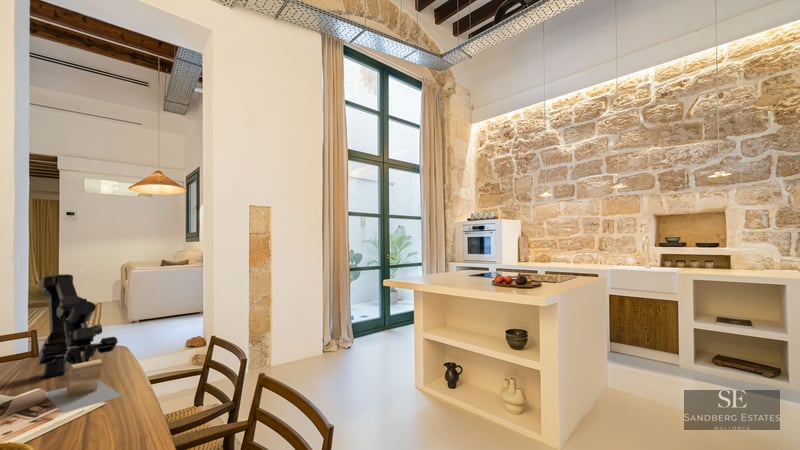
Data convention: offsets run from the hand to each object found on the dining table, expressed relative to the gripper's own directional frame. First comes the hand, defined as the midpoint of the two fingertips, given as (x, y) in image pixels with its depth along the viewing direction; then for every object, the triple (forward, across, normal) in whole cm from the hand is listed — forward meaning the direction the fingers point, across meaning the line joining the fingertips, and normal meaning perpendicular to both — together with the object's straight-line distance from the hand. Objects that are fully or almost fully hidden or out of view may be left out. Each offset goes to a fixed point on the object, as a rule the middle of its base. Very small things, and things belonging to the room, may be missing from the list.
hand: (84, 371), depth 108 cm
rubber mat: (+6, 0, +4) cm, 7 cm away
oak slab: (+4, 0, +5) cm, 7 cm away
